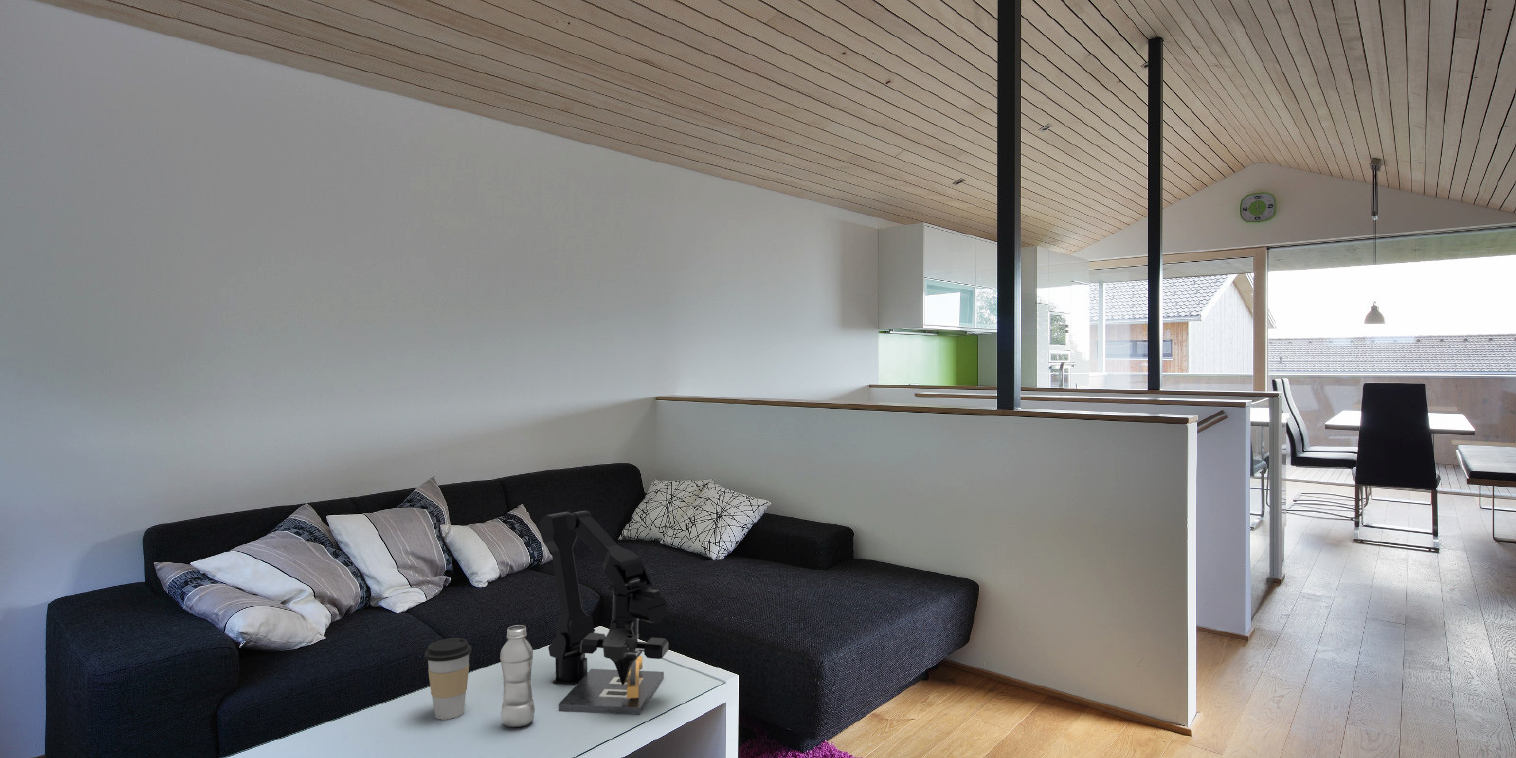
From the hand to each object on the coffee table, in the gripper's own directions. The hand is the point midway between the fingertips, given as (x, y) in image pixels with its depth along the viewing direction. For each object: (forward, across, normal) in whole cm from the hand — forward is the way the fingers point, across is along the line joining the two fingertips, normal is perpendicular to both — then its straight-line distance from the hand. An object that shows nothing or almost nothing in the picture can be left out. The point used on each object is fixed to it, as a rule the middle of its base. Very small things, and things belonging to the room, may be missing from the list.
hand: (623, 684), depth 170 cm
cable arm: (+1, +1, +5) cm, 5 cm away
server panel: (+4, -3, +4) cm, 6 cm away
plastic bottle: (+5, -18, -14) cm, 23 cm away
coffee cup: (+5, -35, -11) cm, 37 cm away
